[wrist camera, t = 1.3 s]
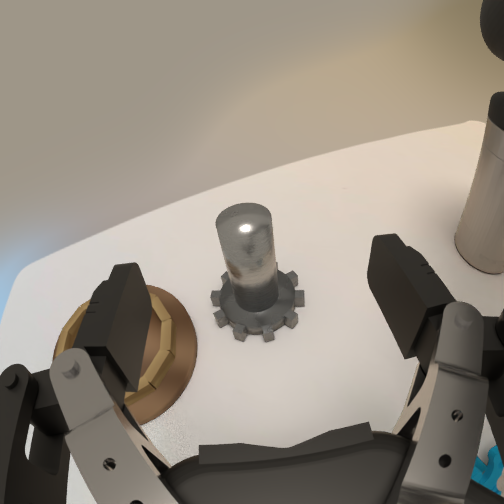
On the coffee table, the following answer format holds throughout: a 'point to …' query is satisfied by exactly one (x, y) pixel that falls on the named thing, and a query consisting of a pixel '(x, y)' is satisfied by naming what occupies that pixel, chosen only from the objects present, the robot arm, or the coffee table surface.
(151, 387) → the carrier disc
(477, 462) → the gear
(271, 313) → the gear
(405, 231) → the coffee table surface
